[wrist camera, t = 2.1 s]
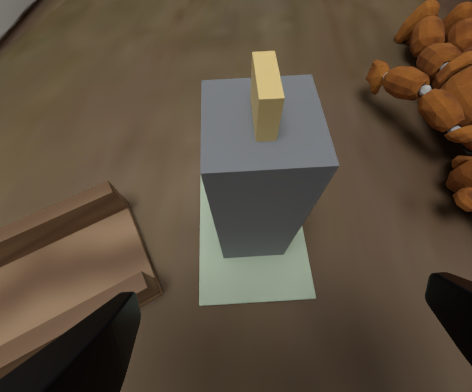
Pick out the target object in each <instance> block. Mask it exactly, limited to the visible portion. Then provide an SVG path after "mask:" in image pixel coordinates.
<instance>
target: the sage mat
mask: <svg viewBox="0 0 472 392" xmlns="http://www.w3.org/2000/svg"><path fill="white" fill-rule="evenodd" d="M304 299H316V295H315V290H314V285H313V280H312V274H311V269H310V264H309V259H308V254H307V248H306V243H305V238H304V233H303V228H302V226H301V228H300V229H299V231H298V232H297V234H296V236H295V237H294V239H293V240H292V242H291V244H290V245H289V247H288V248H287V250H286V252H285V253H284V255H270V256H253V257H237V258H223V254H222V250H221V247H220V243H219V239H218V236H217V232H216V229H215V225H214V221H213V218H212V214H211V210H210V207H209V203H208V199H207V196H206V192H205V188H204V185H203V181H202V178H201V195H200V273H199V306H208V305H224V304H240V303H256V302H272V301H288V300H304Z"/></svg>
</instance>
